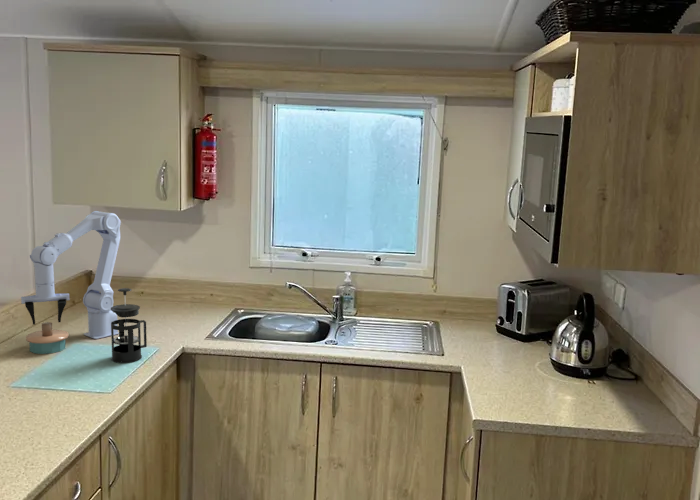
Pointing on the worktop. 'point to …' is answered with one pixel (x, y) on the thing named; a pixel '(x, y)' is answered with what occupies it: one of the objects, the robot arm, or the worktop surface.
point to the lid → (47, 335)
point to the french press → (126, 342)
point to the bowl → (47, 347)
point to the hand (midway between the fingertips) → (46, 322)
